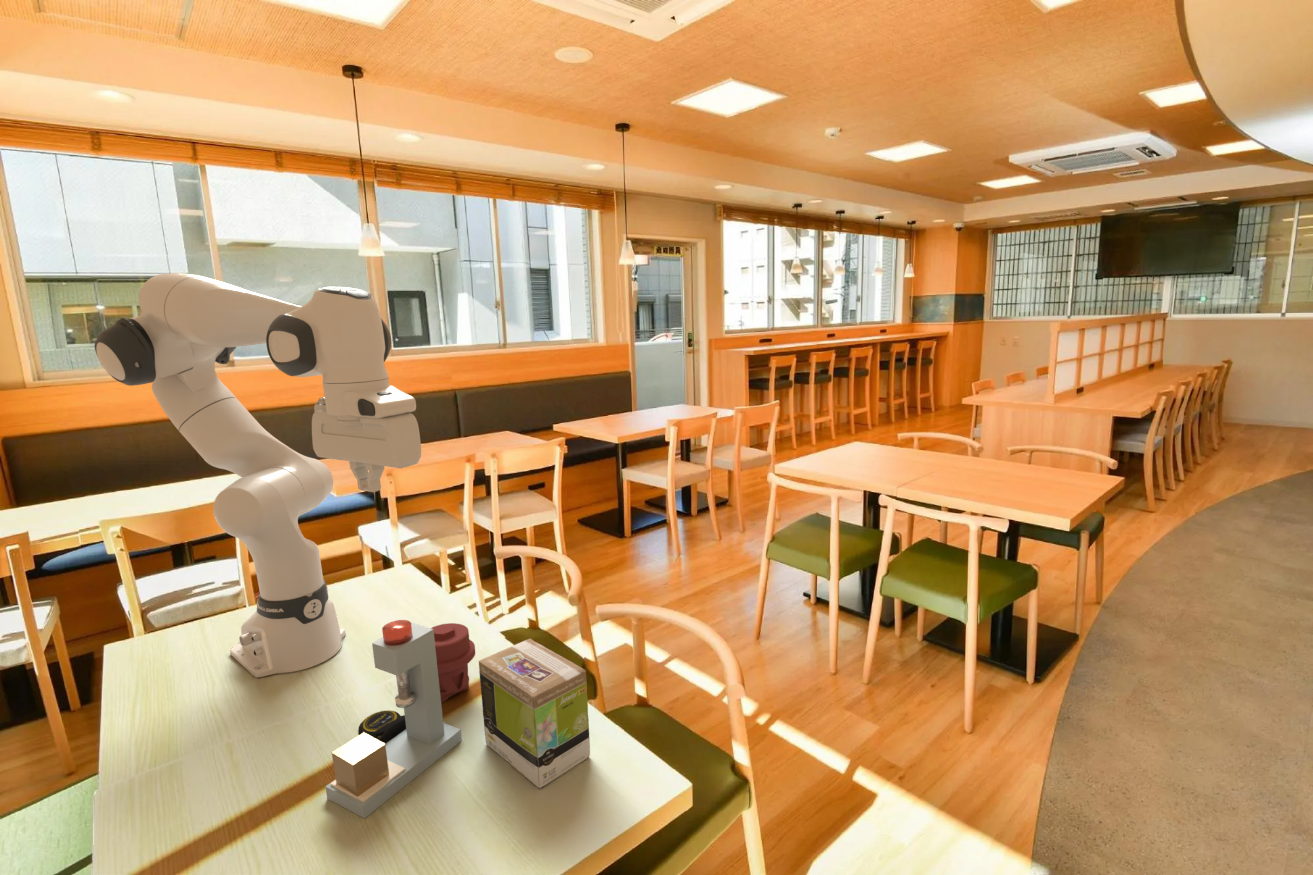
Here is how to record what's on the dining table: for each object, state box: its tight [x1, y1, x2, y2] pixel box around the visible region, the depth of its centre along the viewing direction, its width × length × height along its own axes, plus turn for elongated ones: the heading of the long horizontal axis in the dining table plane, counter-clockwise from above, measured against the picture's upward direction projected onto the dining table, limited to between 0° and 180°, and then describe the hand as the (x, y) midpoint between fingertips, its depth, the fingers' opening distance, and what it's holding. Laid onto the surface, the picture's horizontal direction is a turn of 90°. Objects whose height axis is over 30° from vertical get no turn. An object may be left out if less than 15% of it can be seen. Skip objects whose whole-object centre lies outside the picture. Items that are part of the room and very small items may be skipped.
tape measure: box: [357, 709, 406, 744], centre depth 104 cm, size 7×7×4 cm
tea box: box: [478, 638, 591, 789], centre depth 100 cm, size 15×10×15 cm, turn 45°
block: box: [331, 733, 389, 797], centre depth 92 cm, size 5×5×5 cm
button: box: [381, 619, 416, 709], centre depth 97 cm, size 4×4×12 cm
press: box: [324, 622, 463, 819], centre depth 96 cm, size 8×18×20 cm, turn 151°
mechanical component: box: [430, 622, 476, 703], centre depth 116 cm, size 12×10×10 cm
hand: (369, 490), depth 98 cm, fingers closed
